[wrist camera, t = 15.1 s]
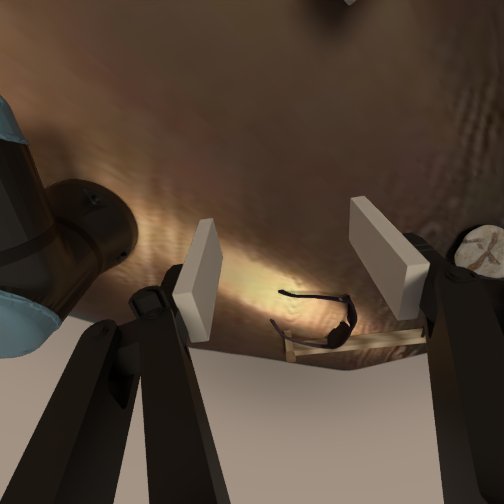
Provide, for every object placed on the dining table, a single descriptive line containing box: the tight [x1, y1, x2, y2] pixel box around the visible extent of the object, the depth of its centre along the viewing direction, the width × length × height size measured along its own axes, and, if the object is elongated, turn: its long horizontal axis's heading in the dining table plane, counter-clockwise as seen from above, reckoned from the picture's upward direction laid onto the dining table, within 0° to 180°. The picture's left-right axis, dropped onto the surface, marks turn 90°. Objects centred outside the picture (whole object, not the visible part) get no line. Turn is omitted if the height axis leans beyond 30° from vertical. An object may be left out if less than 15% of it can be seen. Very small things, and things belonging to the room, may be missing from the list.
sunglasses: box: [270, 290, 357, 349], centre depth 55 cm, size 14×16×5 cm
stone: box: [454, 225, 504, 278], centre depth 47 cm, size 12×9×3 cm
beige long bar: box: [284, 328, 426, 363], centre depth 58 cm, size 32×6×4 cm, turn 99°
